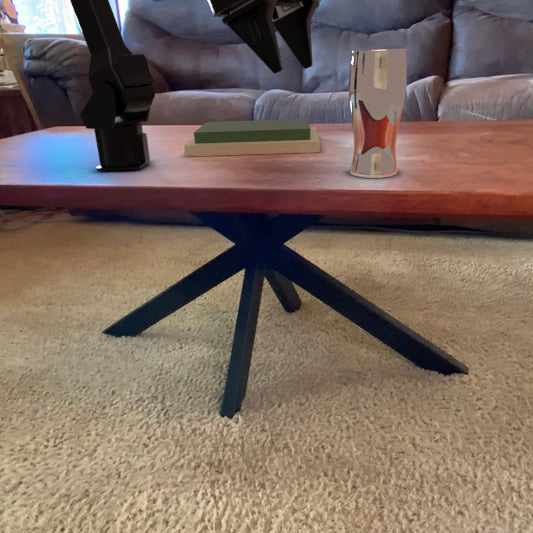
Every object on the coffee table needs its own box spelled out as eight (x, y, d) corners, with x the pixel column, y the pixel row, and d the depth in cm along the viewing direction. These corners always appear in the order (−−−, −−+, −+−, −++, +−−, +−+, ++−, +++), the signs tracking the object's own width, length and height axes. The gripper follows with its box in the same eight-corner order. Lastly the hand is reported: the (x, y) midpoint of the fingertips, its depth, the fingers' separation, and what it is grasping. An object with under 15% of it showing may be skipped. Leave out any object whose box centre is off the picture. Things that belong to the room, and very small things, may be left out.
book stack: (185, 156, 83) (183, 134, 82) (201, 140, 98) (199, 121, 97) (320, 152, 82) (320, 129, 81) (315, 136, 97) (315, 117, 96)
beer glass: (399, 167, 70) (406, 48, 64) (402, 179, 63) (410, 48, 58) (347, 167, 71) (350, 50, 65) (345, 179, 65) (348, 51, 59)
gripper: (272, -133, 46) (328, 42, 49) (338, -91, 61) (377, 40, 65) (180, -67, 52) (236, 85, 55) (262, -44, 67) (301, 74, 70)
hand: (294, 69), depth 61 cm, fingers open, 9 cm apart
